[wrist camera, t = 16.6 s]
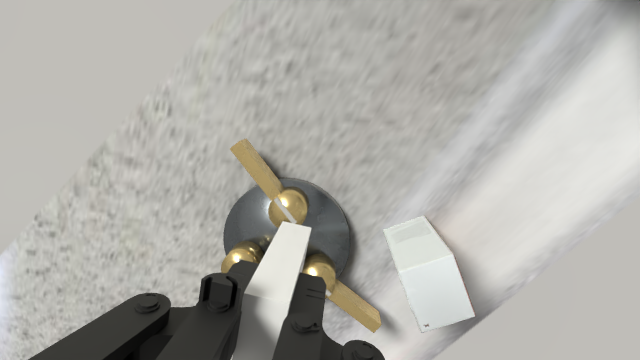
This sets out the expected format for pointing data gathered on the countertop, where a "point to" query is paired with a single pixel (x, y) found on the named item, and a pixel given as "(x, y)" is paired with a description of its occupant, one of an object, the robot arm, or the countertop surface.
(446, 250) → the small box
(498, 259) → the countertop surface
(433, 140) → the countertop surface
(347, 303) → the knob
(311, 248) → the tribrach plate
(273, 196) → the knob
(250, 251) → the knob
